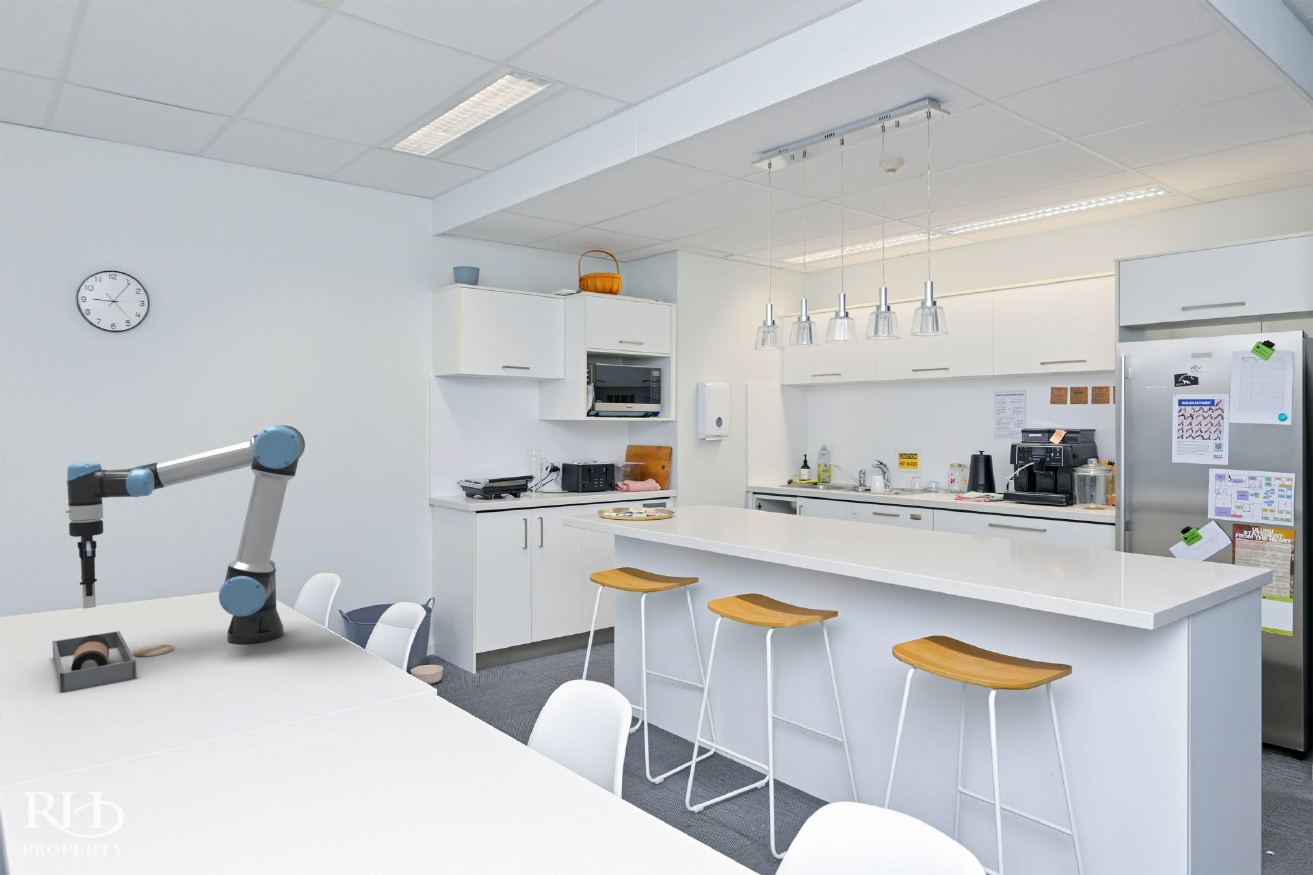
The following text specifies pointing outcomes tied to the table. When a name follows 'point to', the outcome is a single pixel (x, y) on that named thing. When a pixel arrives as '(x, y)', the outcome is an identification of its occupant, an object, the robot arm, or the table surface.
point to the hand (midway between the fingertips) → (89, 607)
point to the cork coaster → (153, 650)
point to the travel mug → (91, 653)
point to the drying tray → (94, 674)
